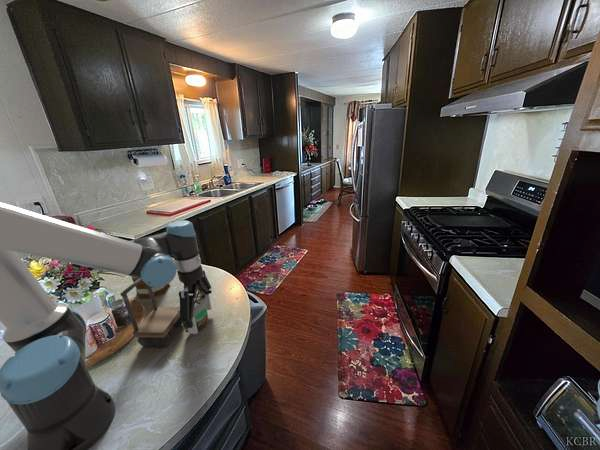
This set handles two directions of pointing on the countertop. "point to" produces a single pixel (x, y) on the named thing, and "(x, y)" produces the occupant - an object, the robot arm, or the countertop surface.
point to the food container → (199, 311)
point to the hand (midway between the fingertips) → (201, 320)
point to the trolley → (153, 321)
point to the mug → (143, 290)
